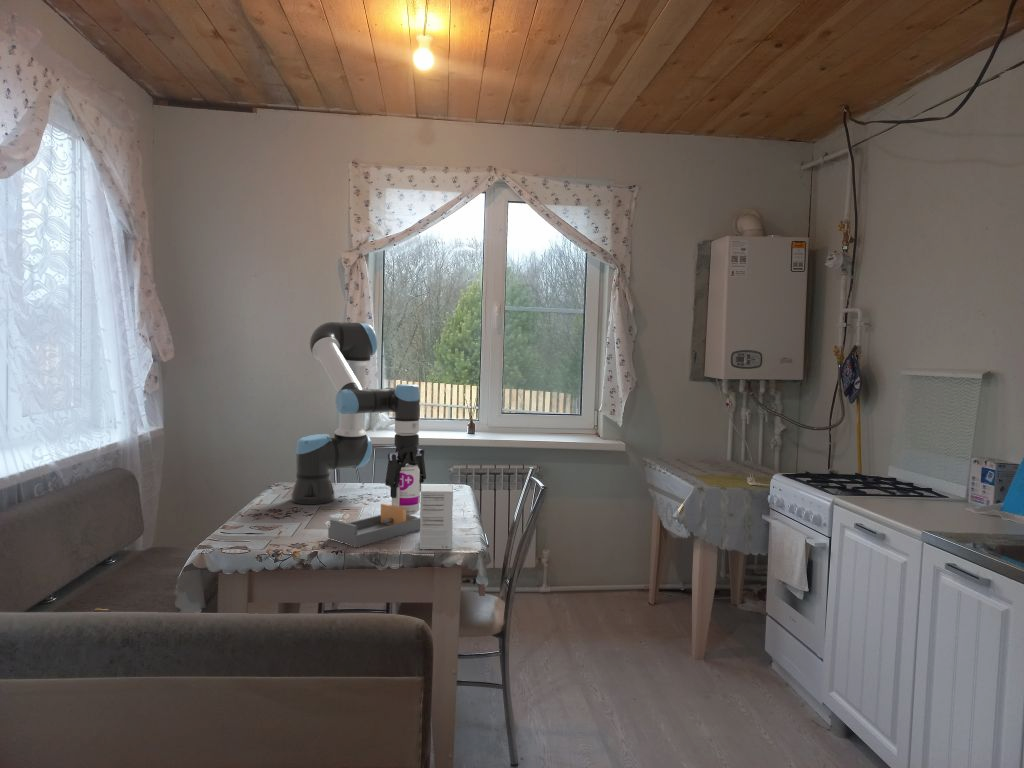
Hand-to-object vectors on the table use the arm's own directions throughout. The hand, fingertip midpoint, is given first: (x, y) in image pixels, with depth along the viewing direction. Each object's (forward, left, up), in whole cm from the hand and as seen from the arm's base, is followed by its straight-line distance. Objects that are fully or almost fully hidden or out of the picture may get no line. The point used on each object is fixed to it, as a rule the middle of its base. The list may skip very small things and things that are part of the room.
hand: (405, 505), depth 215 cm
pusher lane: (0, -12, -7) cm, 14 cm away
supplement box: (+21, -8, -7) cm, 24 cm away
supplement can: (0, 0, -2) cm, 2 cm away
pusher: (0, -7, -5) cm, 9 cm away
